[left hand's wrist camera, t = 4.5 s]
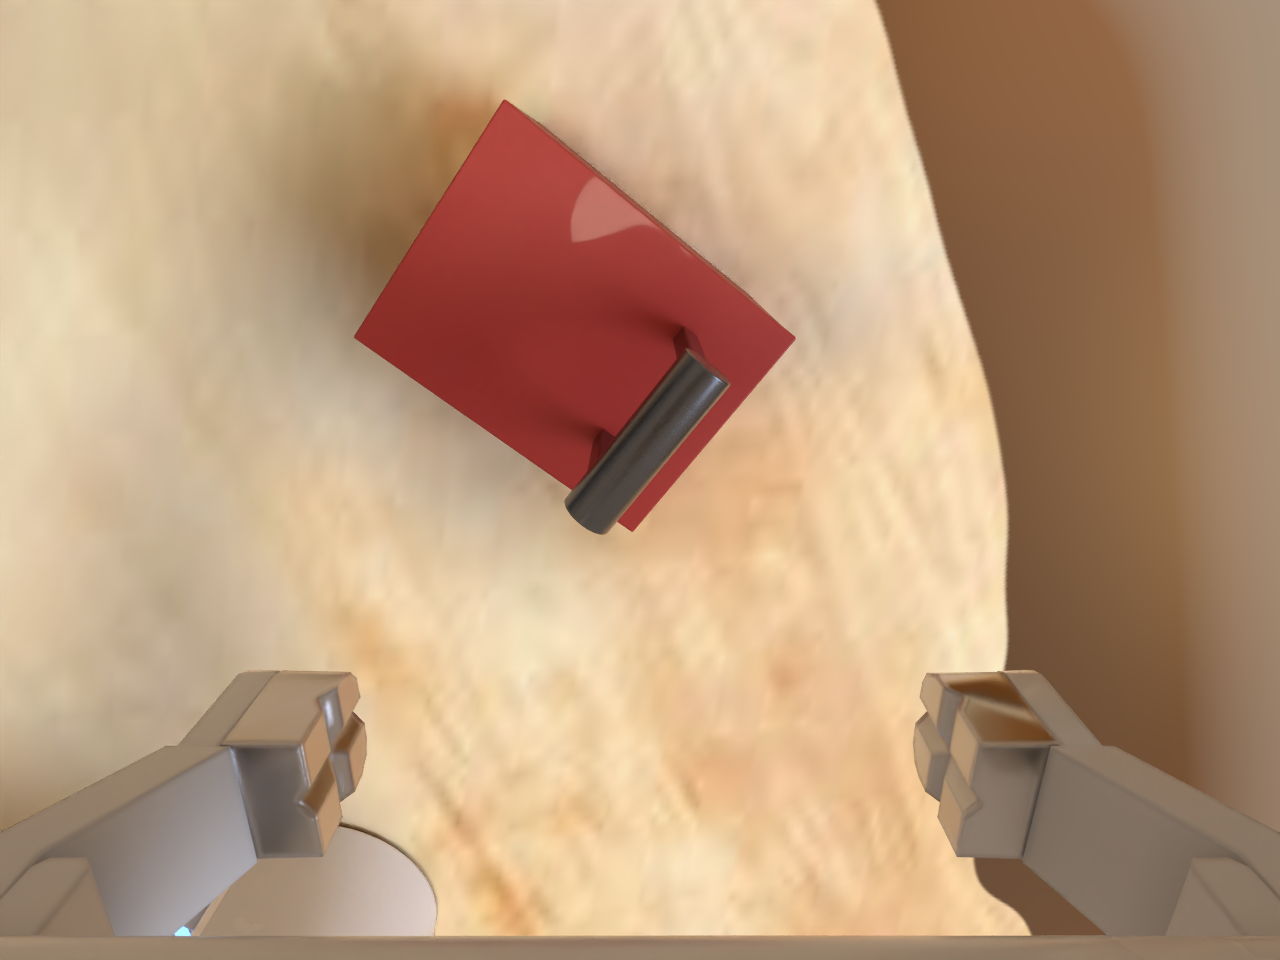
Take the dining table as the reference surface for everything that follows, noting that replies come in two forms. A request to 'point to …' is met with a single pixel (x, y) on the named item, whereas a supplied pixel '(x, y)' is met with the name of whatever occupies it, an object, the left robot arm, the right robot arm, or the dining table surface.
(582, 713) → the dining table surface
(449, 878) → the dining table surface
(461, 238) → the lid
